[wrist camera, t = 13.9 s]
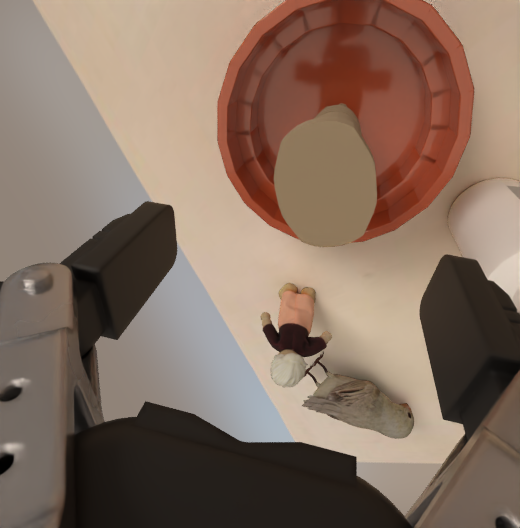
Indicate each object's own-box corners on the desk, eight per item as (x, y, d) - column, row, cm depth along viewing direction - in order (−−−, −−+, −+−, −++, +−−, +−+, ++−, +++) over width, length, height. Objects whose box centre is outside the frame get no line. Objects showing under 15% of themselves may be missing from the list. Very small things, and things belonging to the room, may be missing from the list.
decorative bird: (396, 412, 49) (402, 466, 43) (299, 365, 48) (291, 413, 42) (421, 395, 46) (431, 450, 40) (317, 344, 45) (312, 393, 39)
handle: (314, 165, 31) (288, 250, 19) (301, 88, 28) (262, 133, 16) (369, 155, 29) (380, 242, 17) (363, 73, 26) (371, 110, 14)
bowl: (243, -19, 25) (217, -31, 20) (494, 0, 23) (531, -7, 18) (235, 198, 35) (216, 224, 31) (407, 227, 33) (417, 261, 28)
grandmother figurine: (271, 303, 43) (245, 389, 32) (270, 279, 40) (243, 362, 30) (333, 311, 41) (326, 403, 31) (335, 286, 39) (330, 376, 29)
